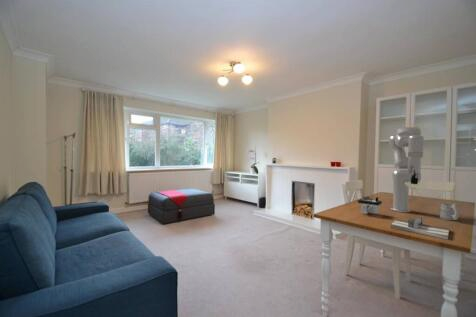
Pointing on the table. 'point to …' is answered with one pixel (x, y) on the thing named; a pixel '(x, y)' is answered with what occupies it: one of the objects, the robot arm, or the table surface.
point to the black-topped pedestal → (369, 205)
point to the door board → (421, 228)
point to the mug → (449, 211)
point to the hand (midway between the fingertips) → (414, 183)
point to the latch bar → (417, 222)
